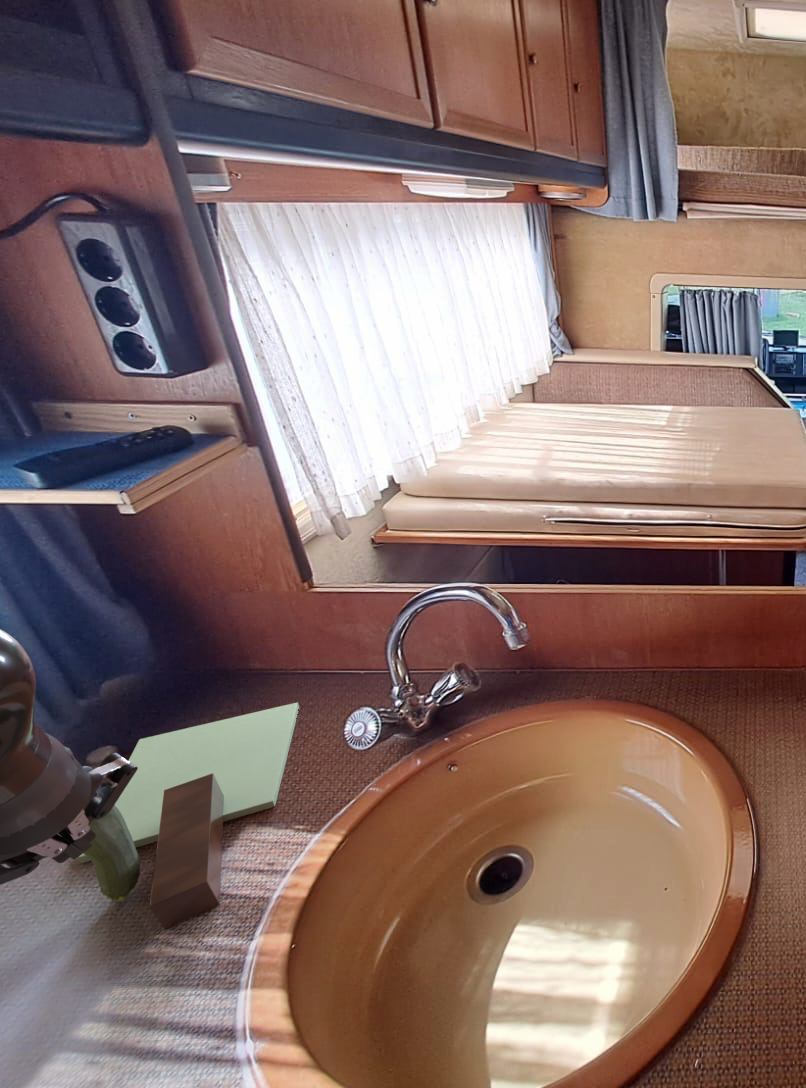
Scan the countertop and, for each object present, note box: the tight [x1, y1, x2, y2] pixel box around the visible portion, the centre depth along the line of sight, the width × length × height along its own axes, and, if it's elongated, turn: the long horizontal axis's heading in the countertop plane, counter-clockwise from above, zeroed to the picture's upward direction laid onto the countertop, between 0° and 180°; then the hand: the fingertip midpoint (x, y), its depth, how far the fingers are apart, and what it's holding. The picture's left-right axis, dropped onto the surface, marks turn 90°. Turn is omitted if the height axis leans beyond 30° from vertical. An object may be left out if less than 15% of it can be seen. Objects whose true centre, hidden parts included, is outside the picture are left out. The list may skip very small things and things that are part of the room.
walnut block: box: [149, 773, 224, 930], centre depth 80 cm, size 5×5×18 cm
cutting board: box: [77, 701, 300, 864], centre depth 93 cm, size 20×22×1 cm
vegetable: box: [80, 796, 141, 902], centre depth 73 cm, size 4×4×20 cm
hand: (75, 847), depth 59 cm, fingers closed
